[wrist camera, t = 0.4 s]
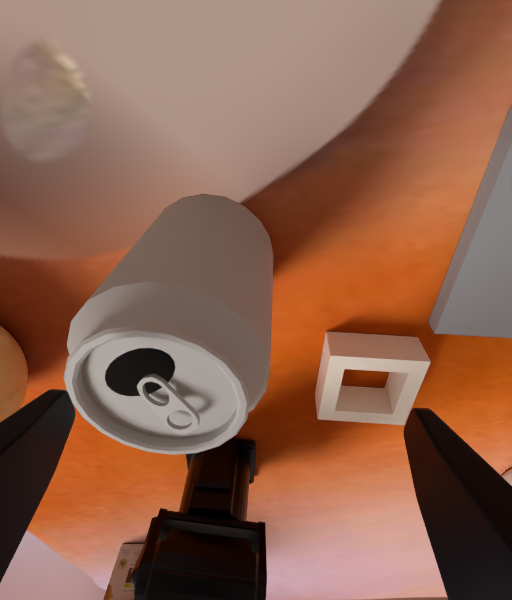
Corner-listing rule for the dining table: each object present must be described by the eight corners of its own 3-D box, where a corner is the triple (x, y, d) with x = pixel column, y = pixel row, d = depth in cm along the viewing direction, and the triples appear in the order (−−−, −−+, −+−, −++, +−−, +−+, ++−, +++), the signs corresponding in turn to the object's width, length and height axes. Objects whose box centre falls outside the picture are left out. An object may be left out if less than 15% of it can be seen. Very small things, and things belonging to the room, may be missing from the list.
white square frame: (394, 398, 28) (404, 425, 26) (314, 393, 28) (317, 419, 26) (417, 336, 24) (430, 361, 22) (326, 331, 24) (330, 355, 22)
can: (217, 160, 18) (145, 264, 8) (297, 261, 21) (313, 425, 11) (128, 239, 21) (-6, 386, 11) (209, 318, 24) (161, 489, 14)
